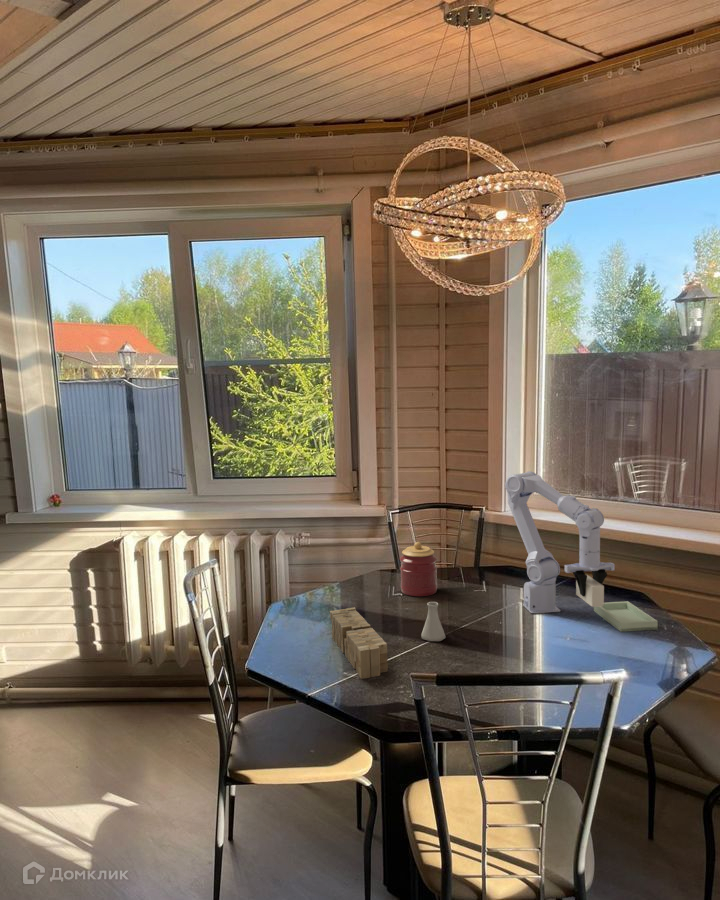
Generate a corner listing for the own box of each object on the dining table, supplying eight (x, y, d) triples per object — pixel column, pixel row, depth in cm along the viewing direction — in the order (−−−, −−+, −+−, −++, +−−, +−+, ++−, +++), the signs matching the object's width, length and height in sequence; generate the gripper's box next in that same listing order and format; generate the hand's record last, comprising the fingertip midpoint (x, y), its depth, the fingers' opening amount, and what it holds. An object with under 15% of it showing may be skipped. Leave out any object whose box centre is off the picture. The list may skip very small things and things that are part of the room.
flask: (448, 633, 183) (447, 600, 182) (443, 643, 176) (442, 608, 175) (424, 631, 185) (423, 598, 184) (418, 640, 179) (417, 606, 178)
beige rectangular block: (592, 606, 182) (592, 586, 181) (576, 594, 193) (576, 575, 192) (603, 606, 182) (603, 586, 182) (587, 593, 193) (587, 574, 193)
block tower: (389, 678, 159) (356, 632, 186) (389, 646, 158) (355, 605, 185) (360, 683, 156) (330, 636, 184) (359, 650, 155) (329, 608, 183)
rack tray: (620, 631, 180) (620, 623, 180) (593, 611, 197) (594, 603, 197) (657, 629, 181) (657, 621, 181) (627, 608, 198) (627, 601, 198)
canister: (402, 585, 229) (400, 537, 227) (437, 585, 227) (436, 537, 225) (399, 596, 216) (397, 546, 214) (437, 597, 214) (436, 546, 213)
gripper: (571, 554, 182) (571, 600, 183) (619, 552, 183) (619, 597, 184) (561, 548, 189) (561, 592, 190) (608, 546, 190) (608, 590, 191)
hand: (589, 594), depth 188 cm, fingers closed on beige rectangular block, 3 cm apart
